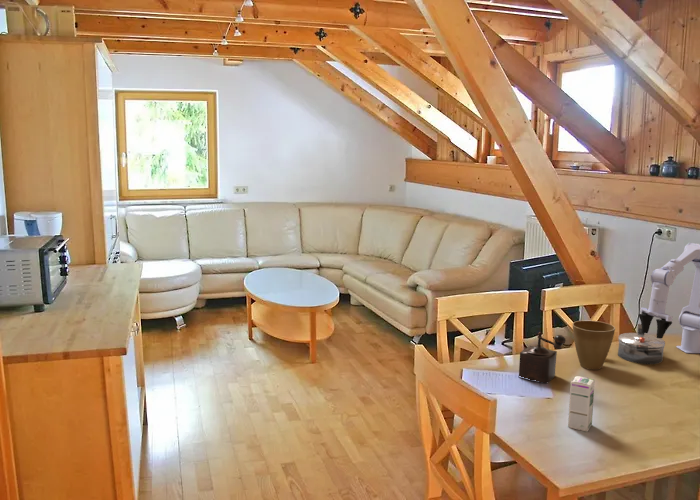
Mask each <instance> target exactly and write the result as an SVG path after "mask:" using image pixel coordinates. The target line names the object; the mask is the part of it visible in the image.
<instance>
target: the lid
mask: <svg viewBox="0 0 700 500" xmlns="http://www.w3.org/2000/svg"><path fill="white" fill-rule="evenodd" d="M636 330H637V331H636V332H624V333H620V334H619V335H618V342H619V341H620V342H622V343H624V344H626V345H629V346H633V347H636V349H640V350H648V349H657V348H662V347H664V348H665V346H666V341H665V340H664V339H663V338H657V335H656V336H654V335H651V334H648V333H642V325H641V323H637V329H636Z"/></svg>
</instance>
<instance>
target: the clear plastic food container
mask: <svg viewBox="0 0 700 500" xmlns="http://www.w3.org/2000/svg"><path fill="white" fill-rule="evenodd" d="M664 348H665V346H664V347H662V348H657V349H648V350H640V349H636V347H633V346H629V345H626V344H624V343H622V342H620V341H619V340H618V349H617V355H618V357H619V358H621V359H622V360H624V361H628V362H630V363H635V364H641V365H657V364H660V363H662V362H663V360H664V359H663V358H664Z"/></svg>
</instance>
